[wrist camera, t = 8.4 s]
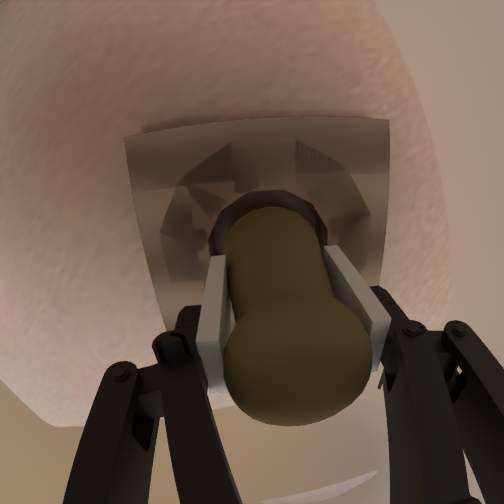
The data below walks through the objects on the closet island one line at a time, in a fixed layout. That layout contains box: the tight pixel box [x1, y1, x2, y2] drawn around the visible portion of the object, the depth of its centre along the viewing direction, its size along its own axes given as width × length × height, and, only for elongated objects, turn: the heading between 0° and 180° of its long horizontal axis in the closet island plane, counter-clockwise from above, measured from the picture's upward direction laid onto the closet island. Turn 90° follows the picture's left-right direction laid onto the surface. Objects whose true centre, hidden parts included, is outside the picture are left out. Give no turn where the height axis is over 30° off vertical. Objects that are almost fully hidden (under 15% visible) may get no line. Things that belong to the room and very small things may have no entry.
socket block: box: [124, 116, 390, 333], centre depth 19 cm, size 16×16×3 cm
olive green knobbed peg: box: [223, 207, 373, 426], centre depth 13 cm, size 6×6×11 cm
